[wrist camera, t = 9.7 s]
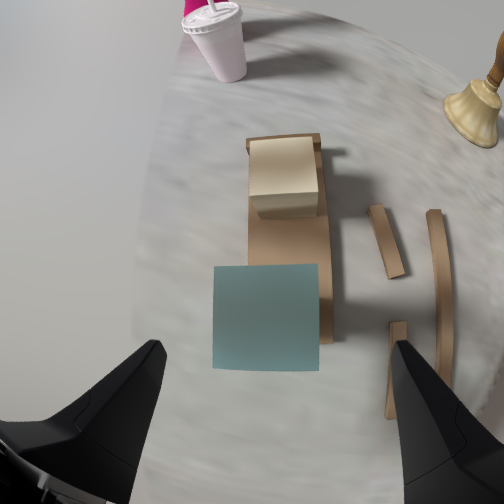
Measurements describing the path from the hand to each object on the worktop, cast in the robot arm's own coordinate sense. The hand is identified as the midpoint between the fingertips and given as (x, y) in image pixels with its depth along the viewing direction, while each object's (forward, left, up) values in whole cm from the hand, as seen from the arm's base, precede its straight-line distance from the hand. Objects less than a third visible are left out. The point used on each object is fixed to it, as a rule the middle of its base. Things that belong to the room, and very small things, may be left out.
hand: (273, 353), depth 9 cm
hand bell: (+31, -9, -12) cm, 34 cm away
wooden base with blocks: (+7, +4, -12) cm, 14 cm away
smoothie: (+23, +20, -12) cm, 32 cm away
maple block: (+10, +6, -11) cm, 16 cm away
